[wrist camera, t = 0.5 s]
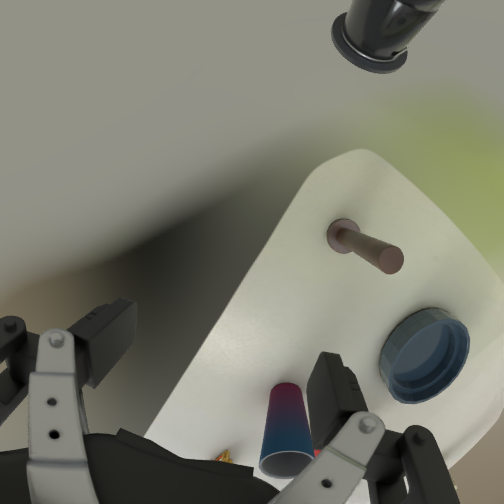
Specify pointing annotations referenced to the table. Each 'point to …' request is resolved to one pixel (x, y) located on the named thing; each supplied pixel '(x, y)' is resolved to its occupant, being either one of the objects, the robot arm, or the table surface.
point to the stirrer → (364, 246)
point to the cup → (286, 434)
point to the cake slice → (224, 457)
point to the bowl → (424, 355)
